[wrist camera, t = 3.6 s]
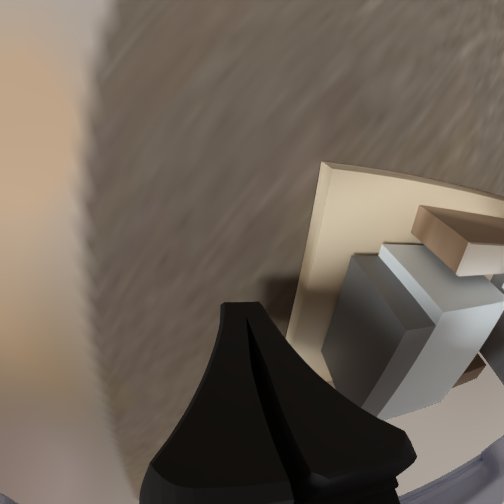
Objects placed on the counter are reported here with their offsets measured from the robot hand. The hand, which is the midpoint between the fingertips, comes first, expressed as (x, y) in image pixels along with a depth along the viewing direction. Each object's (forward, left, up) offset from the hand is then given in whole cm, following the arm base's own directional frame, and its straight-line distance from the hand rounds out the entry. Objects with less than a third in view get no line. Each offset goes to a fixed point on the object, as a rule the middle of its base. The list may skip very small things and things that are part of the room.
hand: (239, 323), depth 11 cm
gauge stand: (0, -10, -2) cm, 10 cm away
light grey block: (+1, -7, -1) cm, 7 cm away
